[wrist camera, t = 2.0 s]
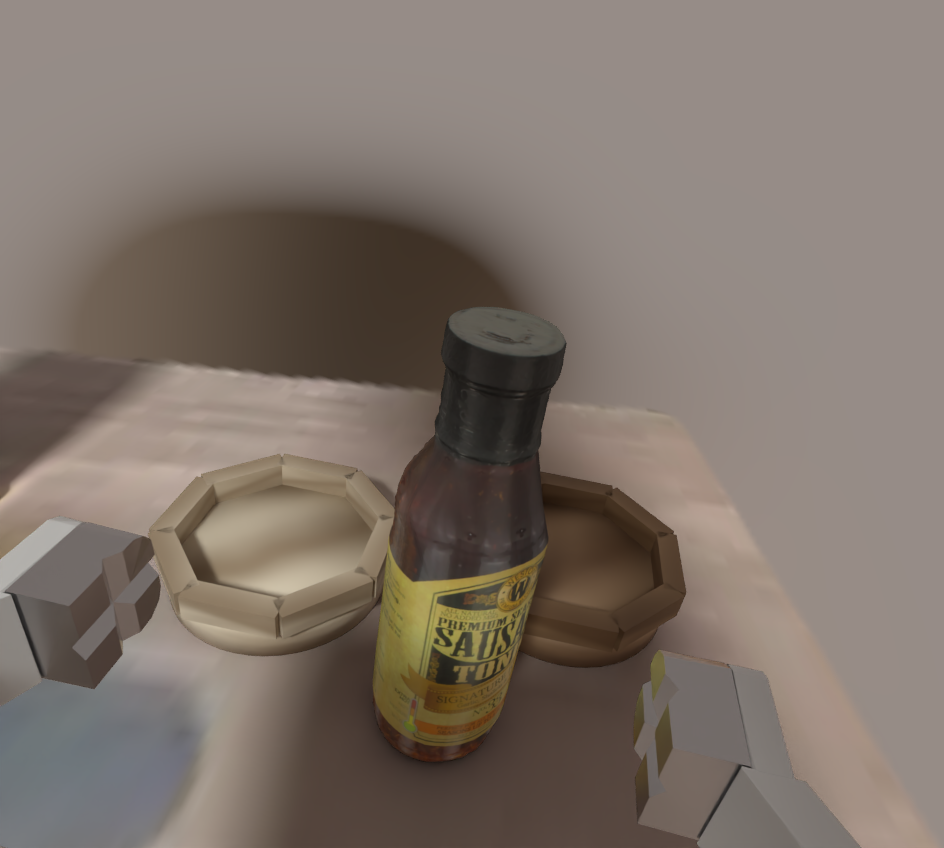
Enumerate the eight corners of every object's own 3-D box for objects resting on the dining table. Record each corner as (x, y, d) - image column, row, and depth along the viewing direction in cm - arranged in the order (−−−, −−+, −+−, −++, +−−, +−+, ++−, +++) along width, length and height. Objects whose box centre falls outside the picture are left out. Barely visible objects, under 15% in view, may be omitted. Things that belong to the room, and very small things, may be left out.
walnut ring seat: (421, 554, 40) (426, 510, 38) (566, 496, 46) (576, 457, 45) (554, 710, 32) (569, 665, 30) (706, 613, 38) (726, 571, 37)
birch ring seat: (140, 538, 38) (131, 492, 36) (334, 481, 45) (334, 439, 43) (205, 700, 30) (197, 651, 28) (429, 600, 37) (435, 555, 35)
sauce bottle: (419, 800, 27) (481, 396, 17) (346, 691, 31) (358, 308, 21) (530, 719, 31) (636, 350, 21) (452, 632, 35) (508, 283, 24)
